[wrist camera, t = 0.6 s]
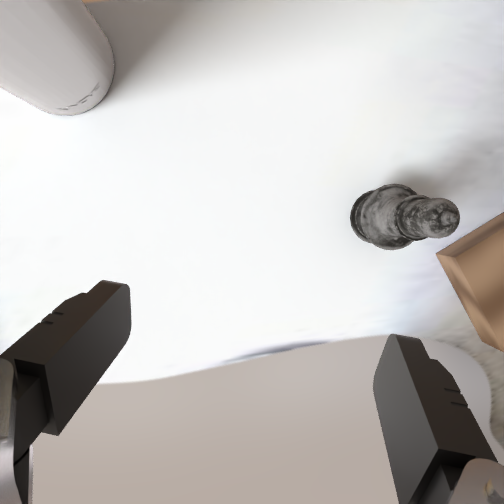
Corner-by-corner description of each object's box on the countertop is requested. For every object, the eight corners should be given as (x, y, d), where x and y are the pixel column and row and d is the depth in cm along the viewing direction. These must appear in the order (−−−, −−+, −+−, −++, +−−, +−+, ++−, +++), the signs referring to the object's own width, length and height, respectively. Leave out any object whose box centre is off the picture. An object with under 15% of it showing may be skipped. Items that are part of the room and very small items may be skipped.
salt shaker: (365, 176, 33) (441, 155, 21) (415, 204, 34) (516, 199, 22) (336, 229, 33) (395, 238, 22) (386, 256, 34) (470, 279, 22)
